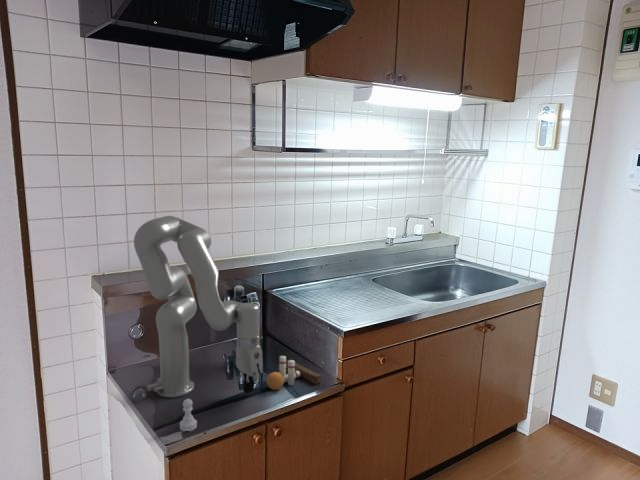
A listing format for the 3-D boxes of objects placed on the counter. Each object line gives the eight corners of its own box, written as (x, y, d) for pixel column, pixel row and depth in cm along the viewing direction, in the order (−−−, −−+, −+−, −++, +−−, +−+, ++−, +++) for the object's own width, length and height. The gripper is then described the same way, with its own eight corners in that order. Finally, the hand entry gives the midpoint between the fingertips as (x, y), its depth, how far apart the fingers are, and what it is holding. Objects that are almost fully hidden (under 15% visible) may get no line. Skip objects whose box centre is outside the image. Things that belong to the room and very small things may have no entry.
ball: (289, 384, 172) (276, 396, 171) (282, 373, 176) (269, 384, 176) (281, 376, 168) (267, 388, 167) (274, 365, 173) (260, 377, 172)
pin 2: (290, 386, 175) (290, 363, 173) (286, 383, 177) (286, 361, 175) (295, 383, 176) (296, 361, 175) (291, 381, 178) (291, 359, 177)
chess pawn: (190, 421, 151) (189, 393, 149) (200, 427, 147) (199, 399, 146) (176, 427, 147) (175, 399, 145) (186, 433, 144) (185, 405, 142)
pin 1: (281, 381, 178) (282, 359, 177) (277, 378, 180) (277, 356, 179) (287, 379, 180) (287, 357, 179) (283, 376, 182) (283, 355, 180)
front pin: (282, 378, 175) (300, 371, 181) (278, 376, 177) (296, 369, 183) (282, 384, 175) (300, 378, 181) (278, 382, 177) (296, 375, 183)
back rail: (316, 384, 176) (316, 376, 176) (285, 368, 189) (285, 361, 189) (320, 383, 177) (320, 375, 177) (289, 366, 191) (289, 359, 190)
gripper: (270, 344, 161) (270, 396, 164) (245, 331, 172) (245, 380, 175) (251, 349, 156) (252, 403, 159) (226, 336, 167) (227, 386, 170)
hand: (248, 391), depth 167 cm, fingers closed
